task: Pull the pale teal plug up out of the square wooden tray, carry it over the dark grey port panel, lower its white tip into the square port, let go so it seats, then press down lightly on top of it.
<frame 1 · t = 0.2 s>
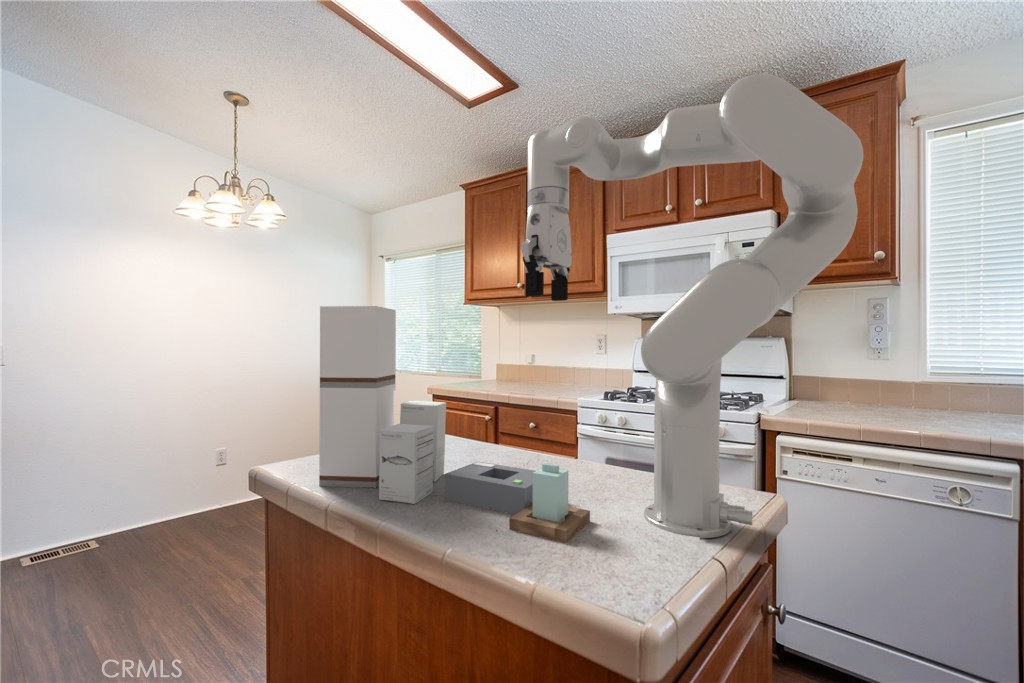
hand: (547, 298, 85), 36 cm above the countertop, tool pointing down, fingers open, 9 cm apart
square wooden tray: (550, 528, 70), on the countertop
plug: (550, 524, 70), point 1 cm above the countertop, touching square wooden tray
port panel: (498, 502, 82), on the countertop
white striped tall box: (359, 480, 96), on the countertop
skincare box: (422, 477, 98), on the countertop
supplement box: (406, 497, 85), on the countertop
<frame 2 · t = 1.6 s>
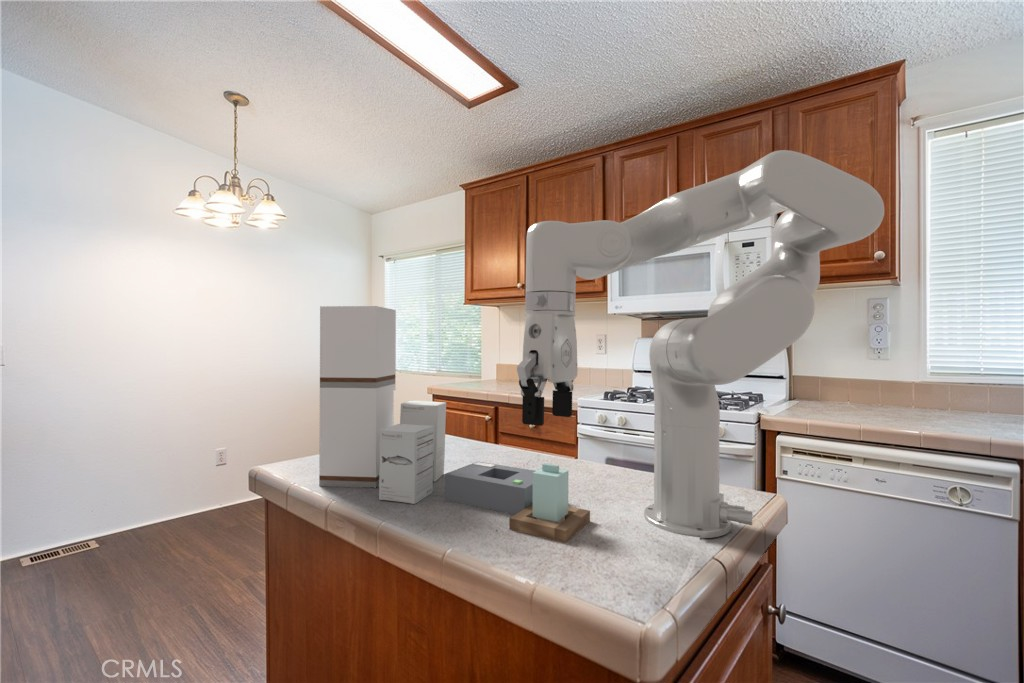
hand: (548, 420, 70), 16 cm above the countertop, tool pointing down, fingers open, 9 cm apart
nothing on the countertop moved.
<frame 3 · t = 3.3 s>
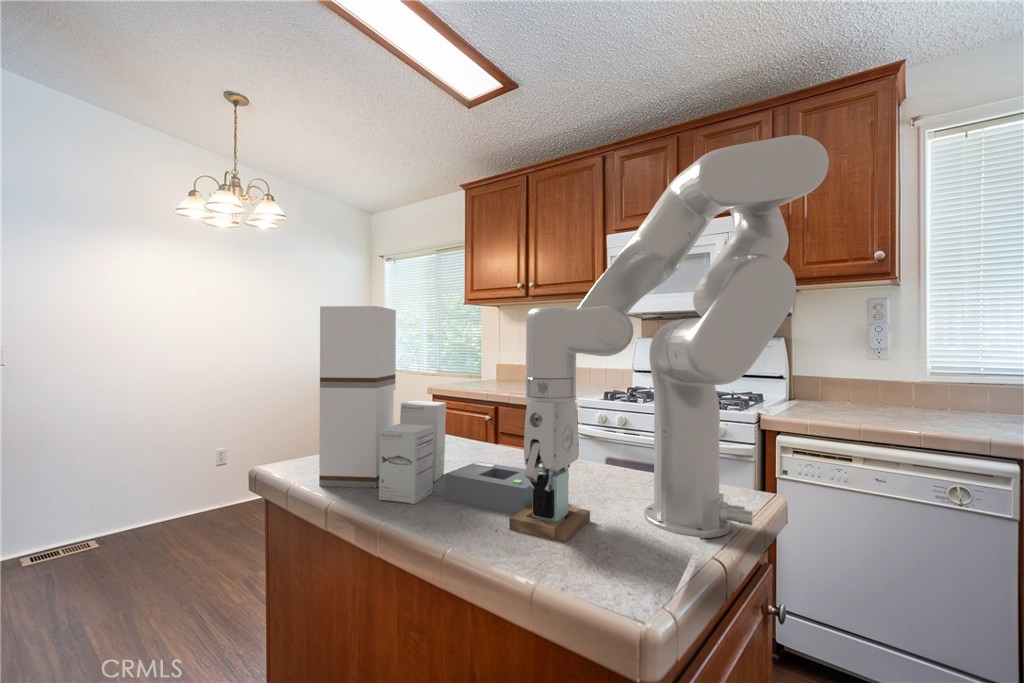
hand: (550, 510, 70), 3 cm above the countertop, tool pointing down, fingers closed on plug, 4 cm apart
plug: (550, 524, 70), point 1 cm above the countertop, touching gripper, square wooden tray
everything else where it was.
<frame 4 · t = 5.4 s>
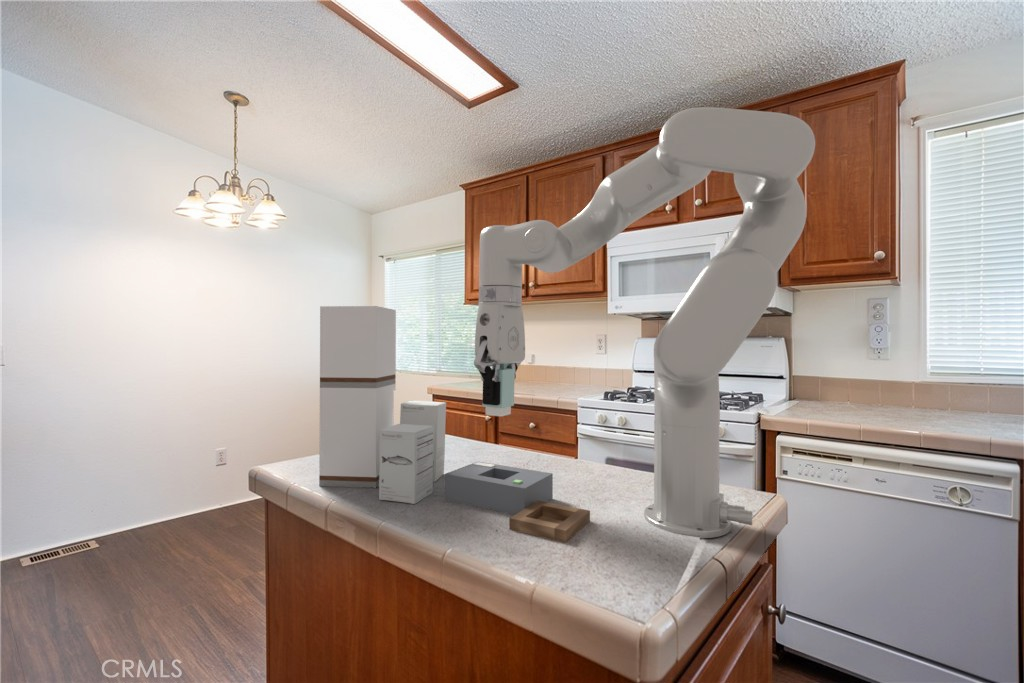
hand: (498, 402, 82), 18 cm above the countertop, tool pointing down, fingers closed on plug, 4 cm apart
plug: (498, 414, 82), point 15 cm above the countertop, touching gripper
everything else where it was.
when the fingers open (6 cm above the countertop, at t = 7.2 s): plug drops 2 cm, resting on port panel.
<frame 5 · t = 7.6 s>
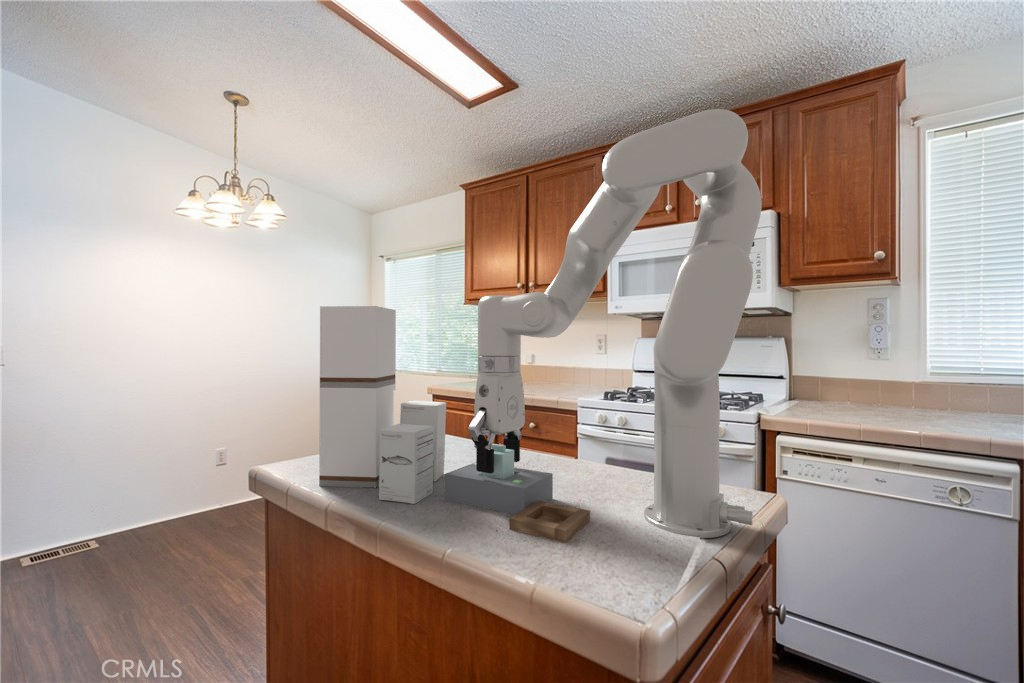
hand: (498, 465, 82), 6 cm above the countertop, tool pointing down, fingers open, 8 cm apart
plug: (498, 496, 82), point 1 cm above the countertop, touching port panel
everything else where it was.
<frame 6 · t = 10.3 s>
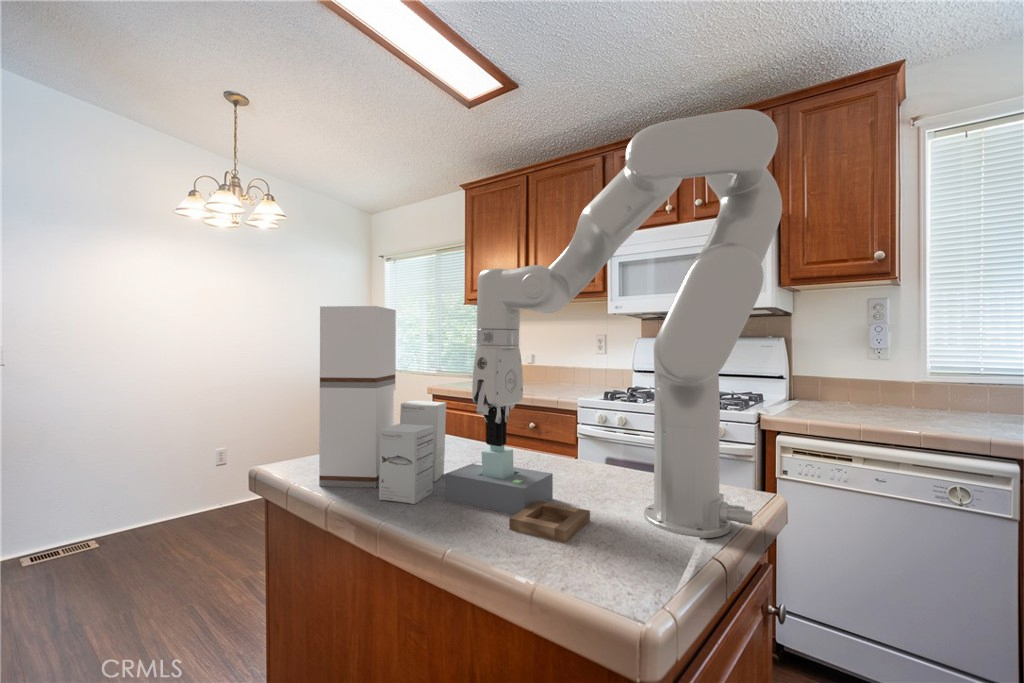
hand: (496, 444, 82), 10 cm above the countertop, tool pointing down, fingers closed
plug: (498, 496, 82), point 1 cm above the countertop, touching gripper, port panel
everything else where it was.
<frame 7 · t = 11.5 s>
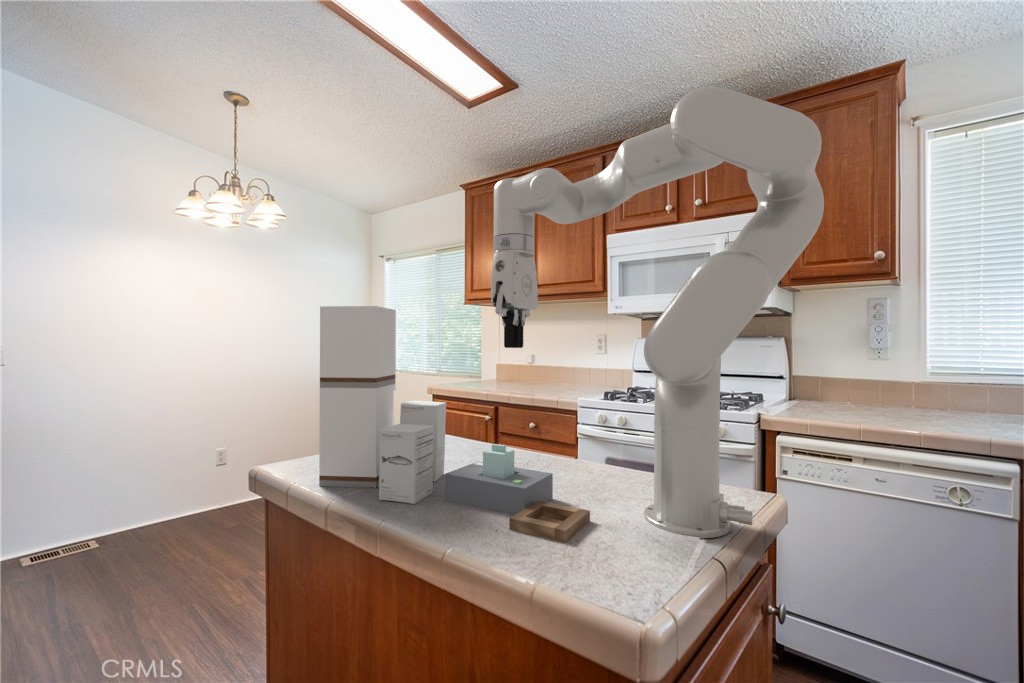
hand: (513, 347, 86), 27 cm above the countertop, tool pointing down, fingers closed
plug: (498, 496, 82), point 1 cm above the countertop, touching port panel
everything else where it was.
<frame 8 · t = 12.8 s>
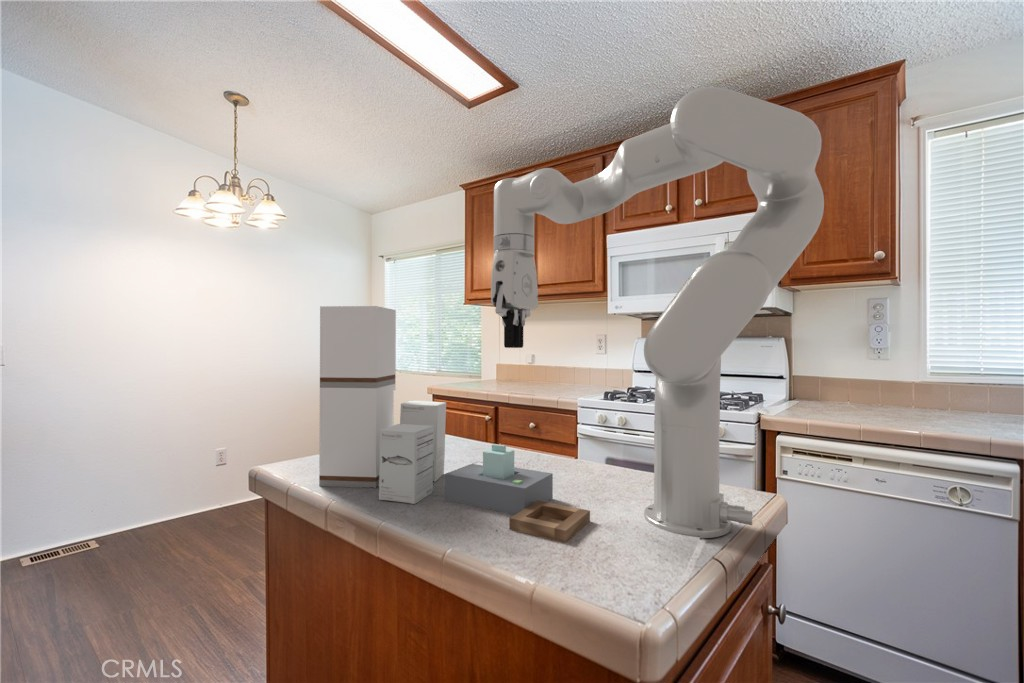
hand: (513, 347, 86), 27 cm above the countertop, tool pointing down, fingers closed
nothing on the countertop moved.
at the end: plug 0.1 cm off-centre on the port panel, point 1.0 cm above the port panel's base; plug tilted 0°; the gripper is holding nothing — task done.
